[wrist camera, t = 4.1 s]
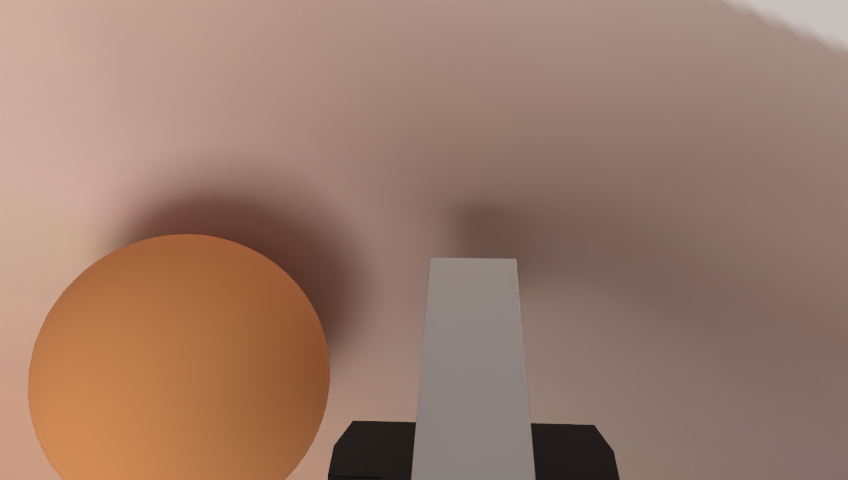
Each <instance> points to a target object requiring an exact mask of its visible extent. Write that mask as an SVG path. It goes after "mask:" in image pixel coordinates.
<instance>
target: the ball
mask: <svg viewBox="0 0 848 480" xmlns="http://www.w3.org/2000/svg"><path fill="white" fill-rule="evenodd" d="M329 382H330V371H329V353H328V349H327V344H326V340H325V336H324V332H323V329H322V326H321V324H320V321H319V318H318V316H317V314H316V312H315V310H314V309H313V307H312V305H311V303H310V301H309V300H308V298H307V296H306V295H305V294H304V292H303V291H302V290H301V288H300V287H299V285H298V284H297V283H296V282H295V281H294V280H293V279H292V278H291V277H290V276H289V275H288V274H287V273H286V272H285V271H284V270H283V269H282V268H280V267H279V266H278V265H277V264H276V263H274V262H273V261H271V260H270V259H268V258H267V257H265V256H264V255H262V254H260V253H258V252H256V251H254V250H252V249H251V248H249V247H246V246H244V245H241V244H239V243H236V242H233V241H230V240H226V239H223V238H219V237H214V236H208V235H201V234H177V235H165V236H159V237H154V238H149V239H145V240H142V241H139V242H136V243H133V244H131V245H128V246H125V247H122V248H120V249H118V250H116V251H114V252H112V253H110V254H109V255H107V256H105V257H103V258H102V259H100V260H99V261H97V262H96V263H94V264H93V265H92V266H90V267H89V268H88V269H86V270H85V271H84V272H82V273H81V274H80V275H79V276H78V277H77V278H76V279H75V280H74V281H73V282H72V283H71V284H70V285H69V286H68V287H67V288H66V290H65V291H64V292H63V293H62V294H61V296H60V297H59V299H58V300H57V301H56V303H55V304H54V306H53V307H52V309H51V310H50V312H49V313H48V315H47V316H46V319H45V321H44V323H43V325H42V328H41V330H40V332H39V335H38V337H37V339H36V342H35V345H34V350H33V354H32V359H31V363H30V368H29V383H28V399H29V407H30V413H31V418H32V422H33V426H34V429H35V433H36V436H37V438H38V440H39V442H40V445H41V447H42V449H43V451H44V453H45V455H46V457H47V459H48V460H49V462H50V463H51V465H52V467H53V468H54V469H55V471H56V472H57V473H58V474H59V476H60V477H61V478H62V479H63V480H285V479H286V478H287V477H288V476H289V475H290V474H291V472H292V471H293V470H294V469H295V468H296V467H297V465H298V464H299V463H300V461H301V460H302V458H303V457H304V456H305V454H306V452H307V451H308V449H309V447H310V446H311V444H312V442H313V440H314V438H315V436H316V434H317V432H318V429H319V427H320V424H321V421H322V419H323V415H324V411H325V408H326V404H327V398H328V391H329Z"/></svg>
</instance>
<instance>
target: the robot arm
mask: <svg viewBox="0 0 848 480" xmlns="http://www.w3.org/2000/svg"><path fill="white" fill-rule="evenodd" d="M328 480H620V479H619V475H618V470H617V465H616V460H615V455H614V451H613V450H612V449H611V447H610V446H609V445H608V443H607V442H606V441H605V439H604V438H603V436H602V435H601V434H600V432H599V431H598V430H597V428H596V427H595V426H594V425H573V424H536V423H531V422H530V411H529V399H528V388H527V376H526V365H525V353H524V342H523V330H522V319H521V307H520V296H519V284H518V273H517V261H516V259H500V258H436V257H431V259H430V270H429V282H428V293H427V305H426V316H425V328H424V339H423V350H422V362H421V373H420V385H419V396H418V407H417V419H416V422H381V421H353V422H352V423H351V424H350V426H349V427H348V428H347V429H346V431H345V432H344V433H343V435H342V436H341V437H340V439H339V440H338V441H337V443H336V444H335V445H334V448H333V453H332V458H331V463H330V468H329V473H328Z"/></svg>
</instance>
